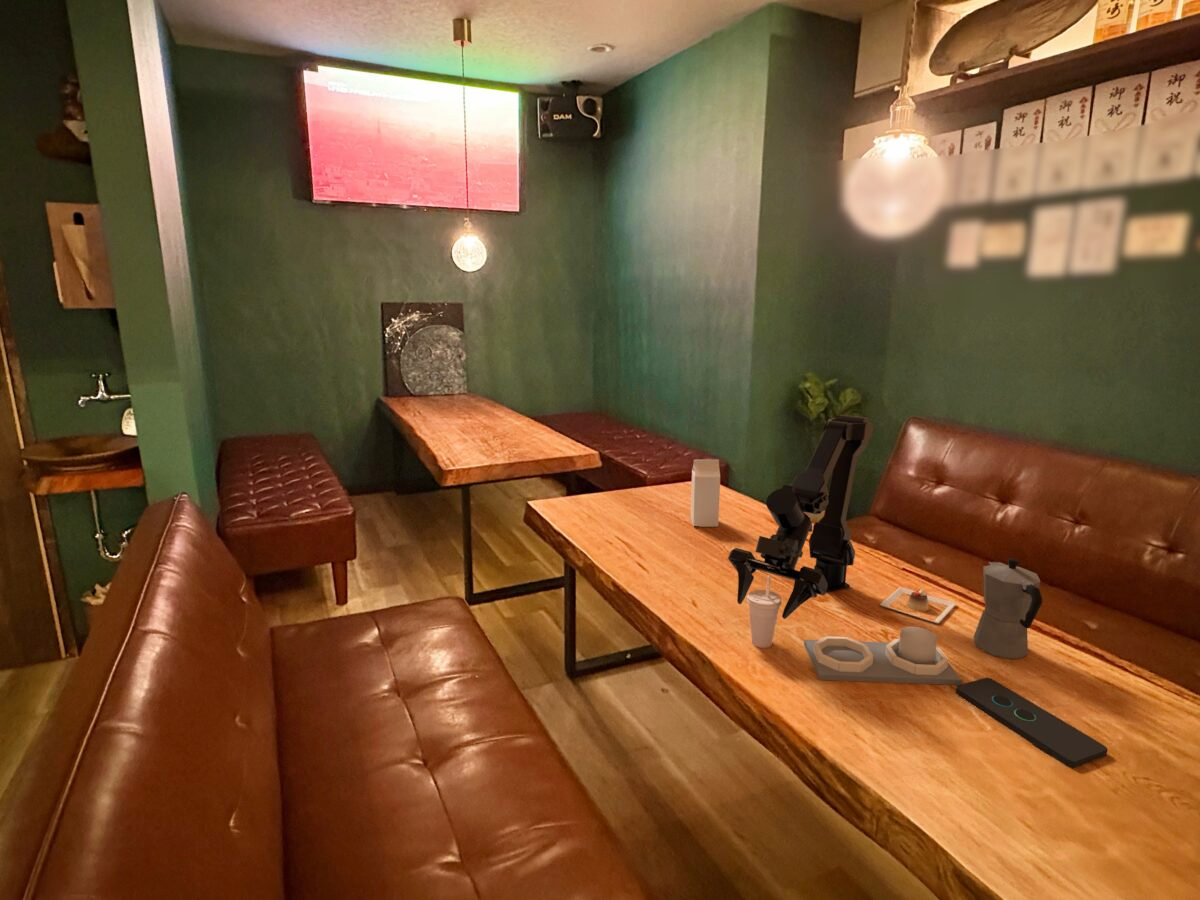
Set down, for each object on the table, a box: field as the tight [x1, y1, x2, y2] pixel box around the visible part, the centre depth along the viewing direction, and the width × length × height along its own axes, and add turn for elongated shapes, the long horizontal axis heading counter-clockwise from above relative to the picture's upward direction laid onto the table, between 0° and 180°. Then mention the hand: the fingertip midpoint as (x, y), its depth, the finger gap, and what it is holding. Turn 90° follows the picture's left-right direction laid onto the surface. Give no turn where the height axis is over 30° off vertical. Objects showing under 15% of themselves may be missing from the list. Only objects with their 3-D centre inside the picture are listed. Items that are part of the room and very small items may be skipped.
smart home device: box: [954, 677, 1108, 769], centre depth 106 cm, size 8×2×20 cm
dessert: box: [879, 586, 958, 624], centre depth 144 cm, size 12×12×5 cm
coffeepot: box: [973, 557, 1043, 660], centre depth 125 cm, size 15×9×18 cm, turn 0°
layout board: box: [803, 626, 963, 686], centre depth 122 cm, size 24×12×6 cm, turn 86°
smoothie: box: [746, 574, 782, 649], centre depth 128 cm, size 6×6×14 cm
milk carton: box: [690, 459, 721, 528], centre depth 193 cm, size 7×7×19 cm
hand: (760, 610), depth 127 cm, fingers open, 9 cm apart
